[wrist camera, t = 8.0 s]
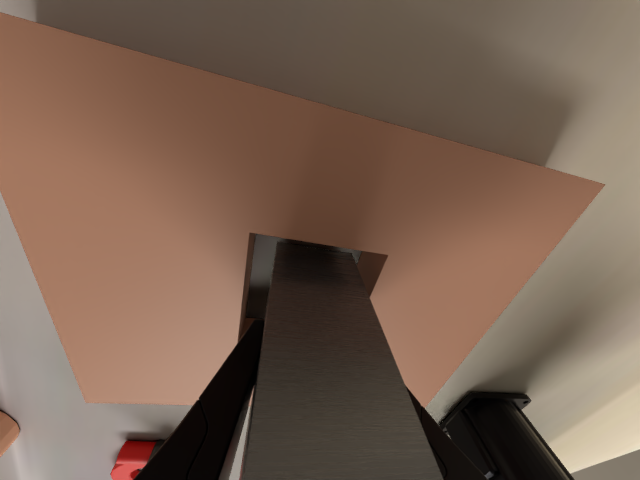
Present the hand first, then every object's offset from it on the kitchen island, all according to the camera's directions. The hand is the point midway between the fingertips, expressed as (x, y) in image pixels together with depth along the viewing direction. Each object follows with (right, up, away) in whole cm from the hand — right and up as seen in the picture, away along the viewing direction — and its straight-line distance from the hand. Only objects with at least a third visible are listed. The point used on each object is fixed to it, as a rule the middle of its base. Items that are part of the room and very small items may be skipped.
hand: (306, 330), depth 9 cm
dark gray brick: (0, +1, +2) cm, 2 cm away
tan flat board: (0, +2, +3) cm, 4 cm away
